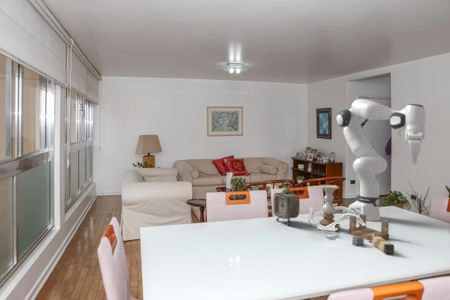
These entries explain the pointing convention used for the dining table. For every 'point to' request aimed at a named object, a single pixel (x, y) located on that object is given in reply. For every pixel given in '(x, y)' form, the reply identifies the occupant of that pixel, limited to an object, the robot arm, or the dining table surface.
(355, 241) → the block
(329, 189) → the candle holder
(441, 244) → the dining table surface
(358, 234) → the stool seat
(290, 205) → the tabletop clock
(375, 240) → the hinged leg
